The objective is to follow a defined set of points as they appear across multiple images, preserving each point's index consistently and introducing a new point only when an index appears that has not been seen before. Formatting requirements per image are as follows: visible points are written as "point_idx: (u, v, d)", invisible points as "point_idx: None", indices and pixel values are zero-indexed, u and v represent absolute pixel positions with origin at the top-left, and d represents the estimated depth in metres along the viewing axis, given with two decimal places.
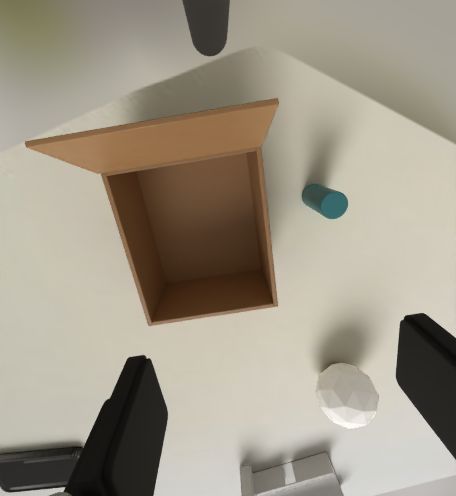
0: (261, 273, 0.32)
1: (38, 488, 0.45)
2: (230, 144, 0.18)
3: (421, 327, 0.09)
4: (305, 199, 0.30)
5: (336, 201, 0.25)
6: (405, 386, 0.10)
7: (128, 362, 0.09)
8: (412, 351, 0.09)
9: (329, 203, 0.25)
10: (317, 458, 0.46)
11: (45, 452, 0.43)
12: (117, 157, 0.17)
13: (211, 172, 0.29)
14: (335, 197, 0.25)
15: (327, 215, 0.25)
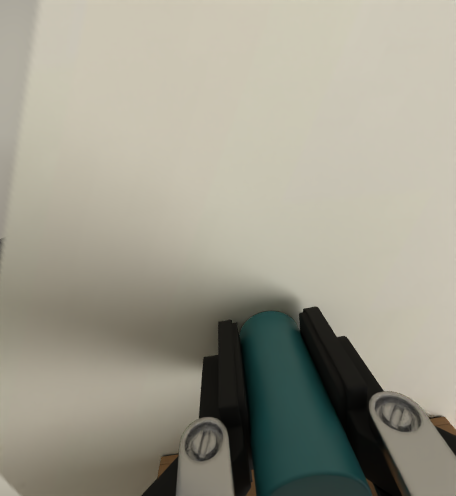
0: None
1: None
2: None
3: (309, 318, 0.10)
4: None
5: None
6: None
7: (220, 325, 0.10)
8: (305, 340, 0.10)
9: None
10: None
11: None
12: None
13: None
14: None
15: None
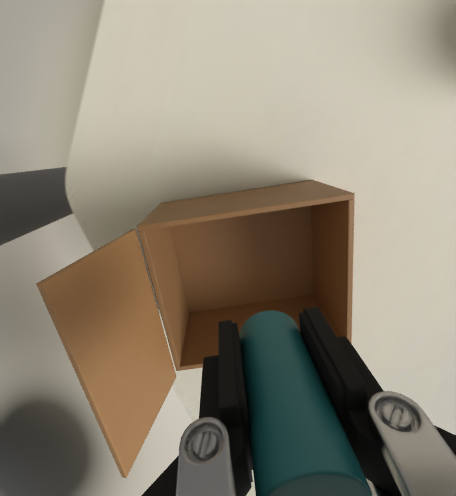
0: None
1: None
2: (129, 274, 0.17)
3: (309, 318, 0.10)
4: None
5: None
6: None
7: (221, 325, 0.10)
8: (305, 340, 0.10)
9: None
10: None
11: None
12: (149, 381, 0.18)
13: (190, 244, 0.27)
14: None
15: None
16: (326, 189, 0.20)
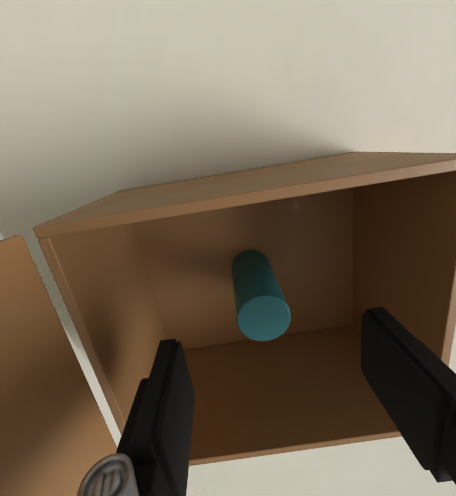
0: None
1: None
2: None
3: (378, 319, 0.09)
4: None
5: (256, 317, 0.13)
6: (368, 375, 0.10)
7: (161, 344, 0.10)
8: (371, 342, 0.10)
9: (259, 328, 0.13)
10: None
11: None
12: None
13: (167, 254, 0.18)
14: (248, 319, 0.13)
15: (282, 328, 0.13)
16: (402, 156, 0.11)
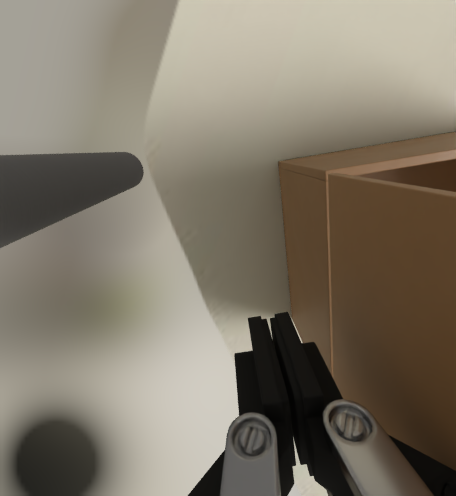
0: None
1: None
2: None
3: (278, 324, 0.10)
4: None
5: None
6: None
7: (251, 321, 0.10)
8: (275, 345, 0.10)
9: None
10: None
11: None
12: None
13: None
14: None
15: None
16: None
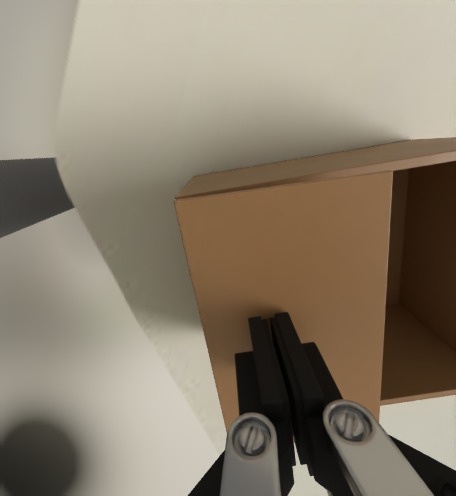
0: None
1: None
2: None
3: (278, 324, 0.10)
4: None
5: None
6: None
7: (251, 321, 0.10)
8: (275, 345, 0.10)
9: None
10: None
11: None
12: None
13: None
14: None
15: None
16: None
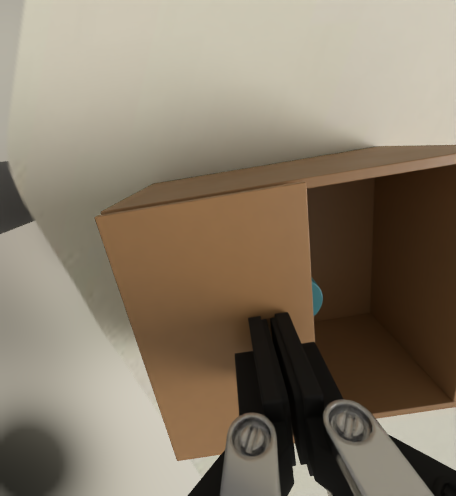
0: None
1: None
2: None
3: (278, 324, 0.10)
4: None
5: None
6: None
7: (250, 321, 0.10)
8: (275, 345, 0.10)
9: None
10: None
11: None
12: None
13: None
14: None
15: (314, 310, 0.14)
16: (430, 147, 0.12)
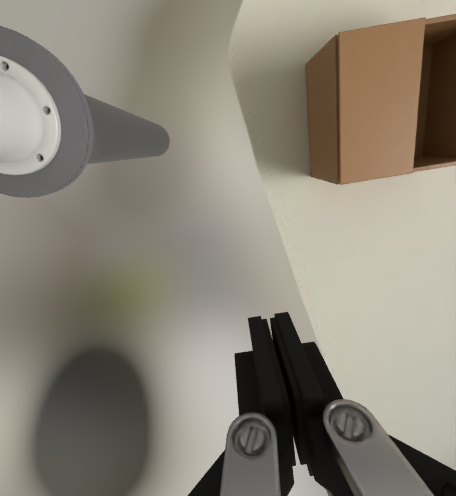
0: (441, 42, 0.29)
1: None
2: None
3: (278, 324, 0.10)
4: None
5: None
6: None
7: (251, 321, 0.10)
8: (275, 345, 0.10)
9: None
10: None
11: None
12: None
13: None
14: None
15: None
16: None
